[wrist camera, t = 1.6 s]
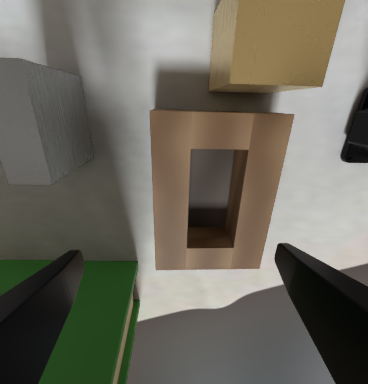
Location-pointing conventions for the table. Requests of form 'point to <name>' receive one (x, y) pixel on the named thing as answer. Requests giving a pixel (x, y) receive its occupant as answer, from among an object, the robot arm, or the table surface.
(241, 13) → the square bit
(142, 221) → the table surface
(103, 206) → the table surface
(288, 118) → the socket block
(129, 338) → the hardback book
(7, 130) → the block
